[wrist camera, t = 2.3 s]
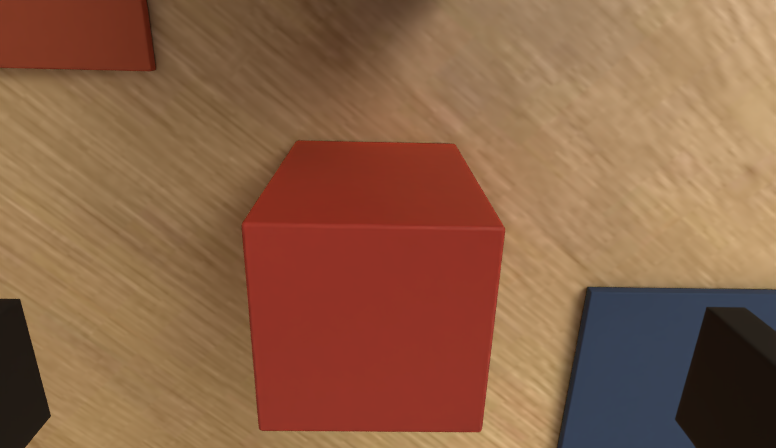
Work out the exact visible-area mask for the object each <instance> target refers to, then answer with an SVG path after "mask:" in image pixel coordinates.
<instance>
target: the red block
mask: <svg viewBox="0 0 776 448" xmlns="http://www.w3.org/2000/svg"><path fill="white" fill-rule="evenodd" d="M241 227H242V238H243V250H244V262H245V273H246V285H247V296H248V308H249V320H250V331H251V343H252V355H253V366H254V378H255V389H256V401H257V413H258V424H259V429H260V430H262V431H377V432H480V431H481V430H482V424H483V416H484V407H485V399H486V390H487V381H488V373H489V364H490V356H491V347H492V339H493V330H494V322H495V313H496V304H497V296H498V287H499V279H500V270H501V262H502V253H503V245H504V236H505V228H504V226H503V224H502V222H501V221H500V219H499V217H498V216H497V214H496V212H495V211H494V209H493V207H492V206H491V204H490V202H489V201H488V199H487V197H486V195H485V194H484V192H483V190H482V189H481V187H480V185H479V184H478V182H477V180H476V179H475V177H474V175H473V174H472V172H471V170H470V169H469V167H468V165H467V164H466V162H465V160H464V158H463V157H462V155H461V153H460V152H459V150H458V148H457V147H456V145H455V144H440V143H391V142H343V141H296V142H295V144H294V145H293V147H292V148H291V150H290V151H289V153H288V154H287V156H286V157H285V159H284V160H283V162H282V163H281V165H280V166H279V168H278V170H277V171H276V173H275V174H274V176H273V177H272V179H271V180H270V182H269V183H268V185H267V186H266V188H265V189H264V191H263V192H262V194H261V195H260V197H259V198H258V200H257V201H256V203H255V204H254V206H253V207H252V209H251V210H250V212H249V214H248V215H247V217H246V218H245V220H244V221H243V223H242V225H241Z"/></svg>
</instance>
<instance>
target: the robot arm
mask: <svg viewBox="0 0 776 448" xmlns="http://www.w3.org/2000/svg"><path fill="white" fill-rule="evenodd" d="M50 417H51V415H50V411H49V407H48V403H47V399H46V396H45V392H44V388H43V384H42V380H41V377H40V373H39V369H38V365H37V361H36V358H35V354H34V350H33V346H32V343H31V339H30V335H29V331H28V327H27V324H26V320H25V316H24V312H23V308H22V305H21V301H20V299H0V448H25V447H26V446H27V444H28V443H29V442H30V441H31V440H32V438H33V437H34V436H35V435H36V433H37V432H38V431H39V430H40V429H41V427H42V426H43V425H44V424H45V423H46V421H47V420H48V419H49V418H50ZM675 420H676V422H677V423H678V424H679V426H680V427H681V428H682V430H683V431H684V432H685V434H686V435H687V436H688V438H689V439H690V440H691V442H692V443H693V444H694V446H695V447H696V448H776V331H775V330H774V329H772V328H771V327H770V326H768V325H767V324H766V323H765V322H763V321H762V320H761V319H759V318H758V317H757V316H756V315H754V314H753V313H752V312H750V311H749V310H748V309H747V308H745V307H706V311H705V314H704V318H703V321H702V325H701V328H700V332H699V335H698V339H697V343H696V346H695V350H694V353H693V357H692V360H691V364H690V367H689V371H688V374H687V378H686V382H685V385H684V389H683V392H682V396H681V399H680V403H679V406H678V410H677V414H676V417H675Z"/></svg>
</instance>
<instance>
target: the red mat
mask: <svg viewBox="0 0 776 448" xmlns="http://www.w3.org/2000/svg"><path fill="white" fill-rule="evenodd" d="M0 68H35V69H77V70H120V71H153V70H155V69H156V67H155V60H154V52H153V45H152V37H151V30H150V23H149V15H148V8H147V1H146V0H0Z"/></svg>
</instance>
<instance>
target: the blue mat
mask: <svg viewBox="0 0 776 448" xmlns="http://www.w3.org/2000/svg"><path fill="white" fill-rule="evenodd" d="M706 307H745V308H747V309H748V310H749V311H750V312H752V313H753V314H754V315H756V316H757V317H758V318H759V319H761V320H762V321H763V322H765V323H766V324H767V325H768V326H770V327H771V328H772V329H774V330H775V331H776V290H767V289H695V288H623V287H588V288H587V293H586V299H585V304H584V309H583V315H582V320H581V325H580V330H579V336H578V341H577V346H576V352H575V357H574V362H573V368H572V373H571V378H570V383H569V389H568V394H567V399H566V405H565V410H564V415H563V421H562V426H561V431H560V436H559V442H558V447H557V448H696V447H695V446H694V444H693V443H692V442H691V440H690V439H689V438H688V436H687V435H686V434H685V432H684V431H683V430H682V428H681V427H680V426H679V424H678V423H677V422H676V420H675V417H676V414H677V410H678V406H679V403H680V399H681V396H682V392H683V389H684V385H685V382H686V378H687V374H688V371H689V367H690V364H691V360H692V357H693V353H694V350H695V346H696V343H697V339H698V335H699V332H700V328H701V325H702V321H703V318H704V314H705V311H706Z"/></svg>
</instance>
